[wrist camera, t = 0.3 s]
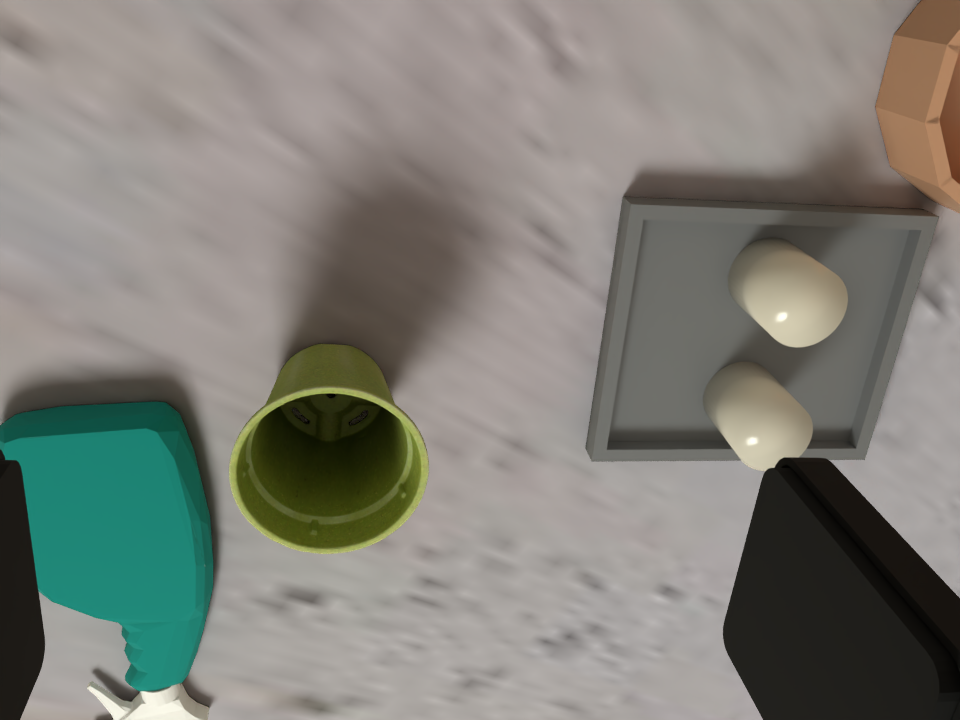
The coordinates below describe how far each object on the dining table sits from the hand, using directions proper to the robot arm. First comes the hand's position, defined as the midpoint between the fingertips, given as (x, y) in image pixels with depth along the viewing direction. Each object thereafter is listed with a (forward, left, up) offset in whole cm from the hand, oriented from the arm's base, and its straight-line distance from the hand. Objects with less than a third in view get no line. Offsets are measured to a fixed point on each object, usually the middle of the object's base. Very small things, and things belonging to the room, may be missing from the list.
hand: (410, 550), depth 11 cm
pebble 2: (+16, +23, -35) cm, 45 cm away
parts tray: (+12, +23, -36) cm, 44 cm away
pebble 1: (+8, +23, -35) cm, 43 cm away
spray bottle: (+29, -13, -36) cm, 49 cm away
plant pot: (+16, -1, -36) cm, 40 cm away
